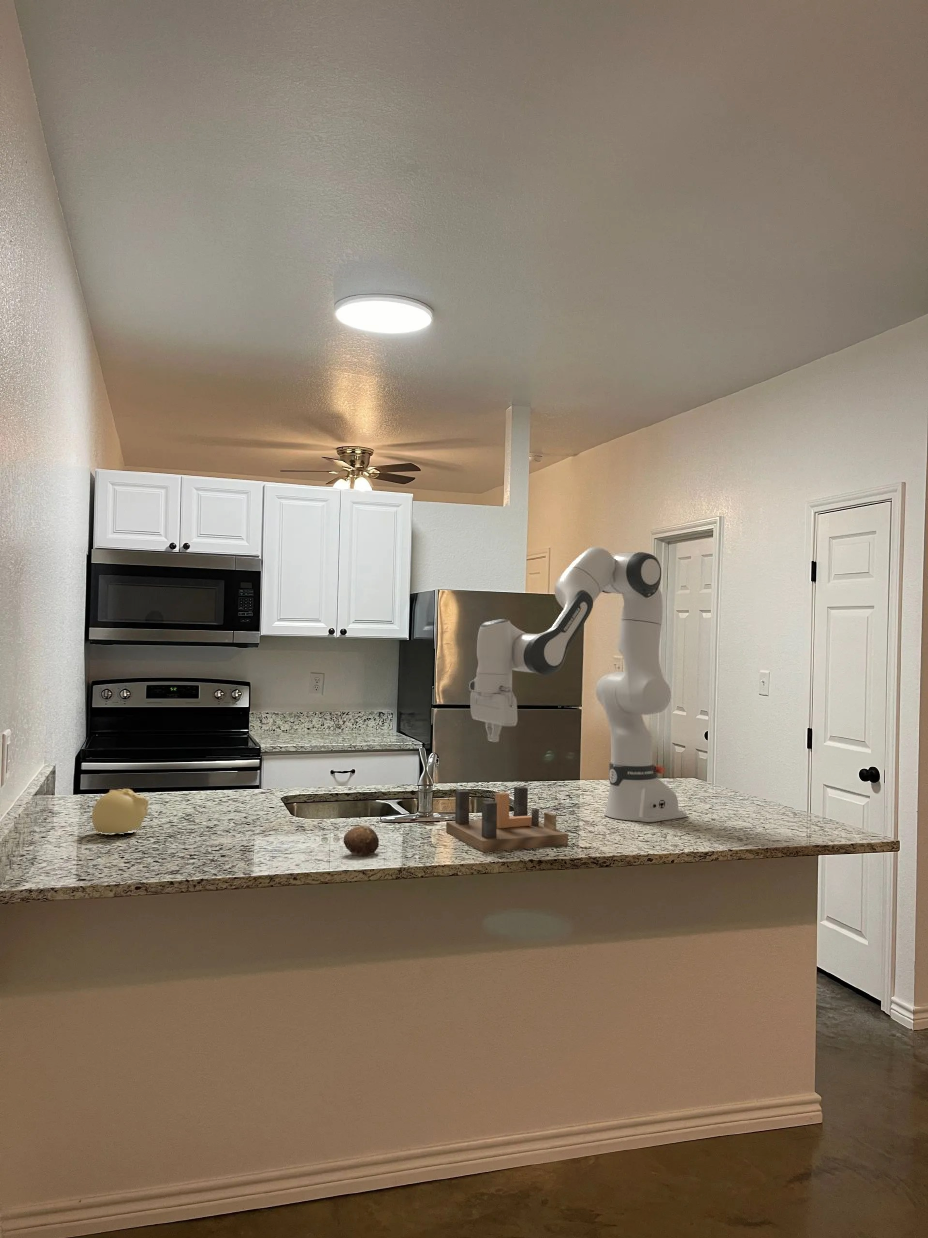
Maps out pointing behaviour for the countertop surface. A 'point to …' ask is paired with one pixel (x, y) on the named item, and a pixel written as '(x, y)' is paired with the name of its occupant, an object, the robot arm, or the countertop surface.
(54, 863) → the countertop surface
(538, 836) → the wooden peg board
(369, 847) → the brown rounded lump
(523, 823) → the l-shaped wooden block
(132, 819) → the sculpture
